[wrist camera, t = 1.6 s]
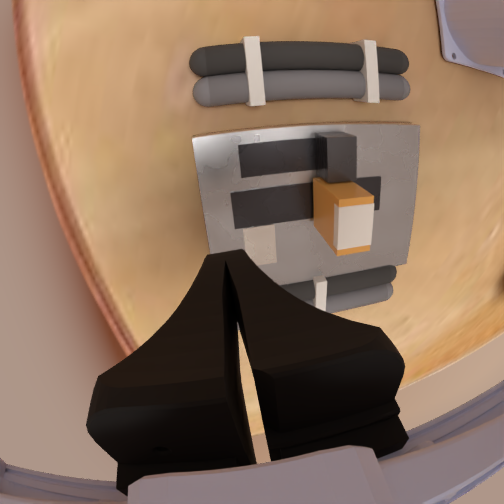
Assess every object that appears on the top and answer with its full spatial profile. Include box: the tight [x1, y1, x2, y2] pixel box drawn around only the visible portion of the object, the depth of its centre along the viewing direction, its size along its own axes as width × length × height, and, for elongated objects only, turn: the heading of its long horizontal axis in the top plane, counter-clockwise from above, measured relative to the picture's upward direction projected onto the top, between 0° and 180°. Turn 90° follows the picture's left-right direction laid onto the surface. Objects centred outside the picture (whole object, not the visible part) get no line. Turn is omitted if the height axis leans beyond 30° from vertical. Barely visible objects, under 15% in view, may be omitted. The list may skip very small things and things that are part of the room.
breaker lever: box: [313, 177, 374, 256], centre depth 17 cm, size 2×3×4 cm, turn 6°
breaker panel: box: [192, 122, 420, 285], centre depth 20 cm, size 15×11×3 cm
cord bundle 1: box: [189, 36, 410, 107], centre depth 16 cm, size 14×4×2 cm, turn 95°
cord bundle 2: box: [237, 265, 397, 330], centre depth 24 cm, size 14×4×2 cm, turn 95°
